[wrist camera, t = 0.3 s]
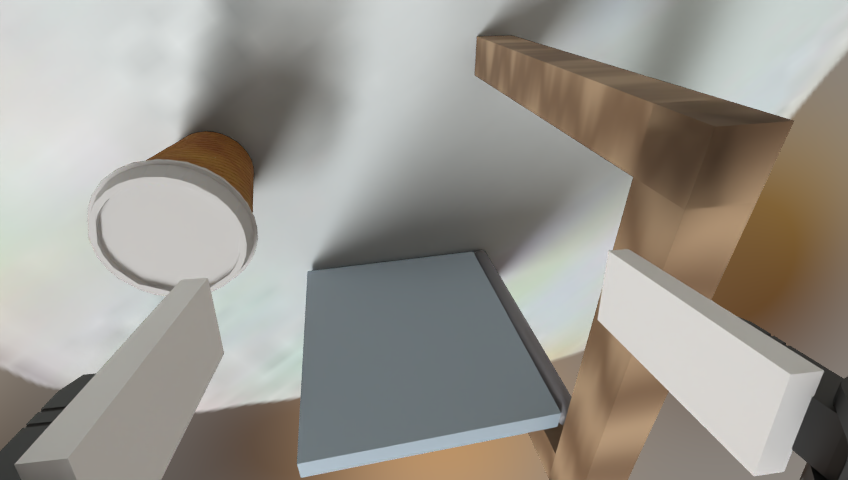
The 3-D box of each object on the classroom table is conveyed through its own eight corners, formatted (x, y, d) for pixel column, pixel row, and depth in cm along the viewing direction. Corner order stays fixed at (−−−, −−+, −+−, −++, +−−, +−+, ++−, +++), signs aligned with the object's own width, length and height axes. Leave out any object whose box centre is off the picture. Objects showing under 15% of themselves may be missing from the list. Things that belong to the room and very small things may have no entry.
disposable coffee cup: (121, 156, 34) (36, 232, 24) (212, 86, 32) (162, 134, 22) (215, 236, 39) (178, 325, 29) (297, 178, 37) (287, 250, 27)
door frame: (476, 36, 34) (715, 126, 13) (511, 35, 35) (794, 120, 14) (462, 287, 48) (569, 524, 27) (487, 284, 48) (611, 514, 28)
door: (487, 249, 45) (583, 408, 28) (484, 276, 47) (573, 439, 30) (307, 270, 42) (296, 463, 25) (312, 298, 44) (306, 494, 27)
